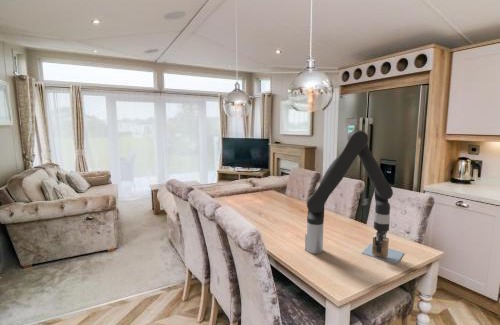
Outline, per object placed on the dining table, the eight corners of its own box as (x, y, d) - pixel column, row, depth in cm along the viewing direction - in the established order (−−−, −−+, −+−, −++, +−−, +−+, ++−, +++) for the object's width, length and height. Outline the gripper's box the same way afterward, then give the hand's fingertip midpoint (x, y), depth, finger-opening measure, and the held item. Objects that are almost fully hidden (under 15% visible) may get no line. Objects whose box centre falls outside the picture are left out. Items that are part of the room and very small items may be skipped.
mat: (361, 253, 150) (361, 252, 150) (371, 244, 162) (371, 243, 162) (396, 264, 138) (396, 263, 138) (404, 253, 150) (404, 252, 150)
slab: (372, 253, 146) (373, 236, 145) (374, 251, 149) (375, 234, 148) (385, 258, 142) (386, 240, 140) (387, 255, 144) (388, 238, 143)
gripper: (378, 216, 150) (376, 244, 153) (370, 222, 140) (368, 253, 142) (393, 219, 145) (390, 248, 148) (385, 226, 135) (383, 258, 137)
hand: (379, 250), depth 145 cm, fingers closed on slab, 3 cm apart
